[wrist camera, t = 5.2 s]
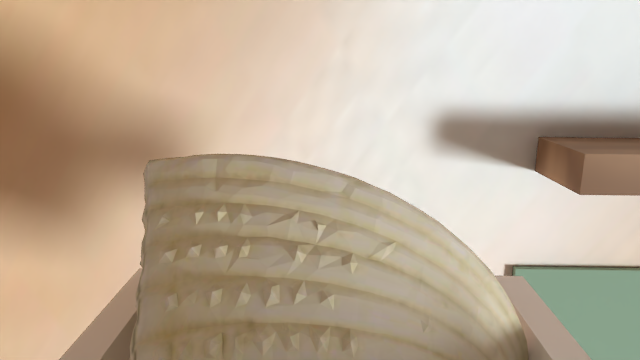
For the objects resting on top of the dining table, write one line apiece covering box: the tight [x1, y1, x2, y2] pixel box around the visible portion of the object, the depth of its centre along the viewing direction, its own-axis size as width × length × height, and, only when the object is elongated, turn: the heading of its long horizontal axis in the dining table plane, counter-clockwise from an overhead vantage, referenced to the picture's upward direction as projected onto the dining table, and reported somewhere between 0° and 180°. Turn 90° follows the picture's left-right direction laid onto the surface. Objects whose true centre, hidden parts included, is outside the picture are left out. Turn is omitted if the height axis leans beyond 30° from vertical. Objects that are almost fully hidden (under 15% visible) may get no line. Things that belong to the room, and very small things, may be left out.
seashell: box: [129, 154, 529, 360], centre depth 11 cm, size 8×8×8 cm
